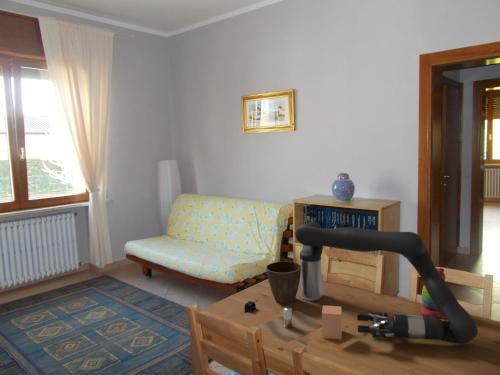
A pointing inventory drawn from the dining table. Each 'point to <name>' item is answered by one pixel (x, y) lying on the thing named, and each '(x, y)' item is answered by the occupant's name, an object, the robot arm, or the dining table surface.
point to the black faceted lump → (249, 306)
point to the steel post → (287, 317)
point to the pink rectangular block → (331, 322)
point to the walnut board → (299, 326)
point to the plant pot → (284, 280)
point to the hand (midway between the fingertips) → (357, 322)
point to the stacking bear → (431, 302)
